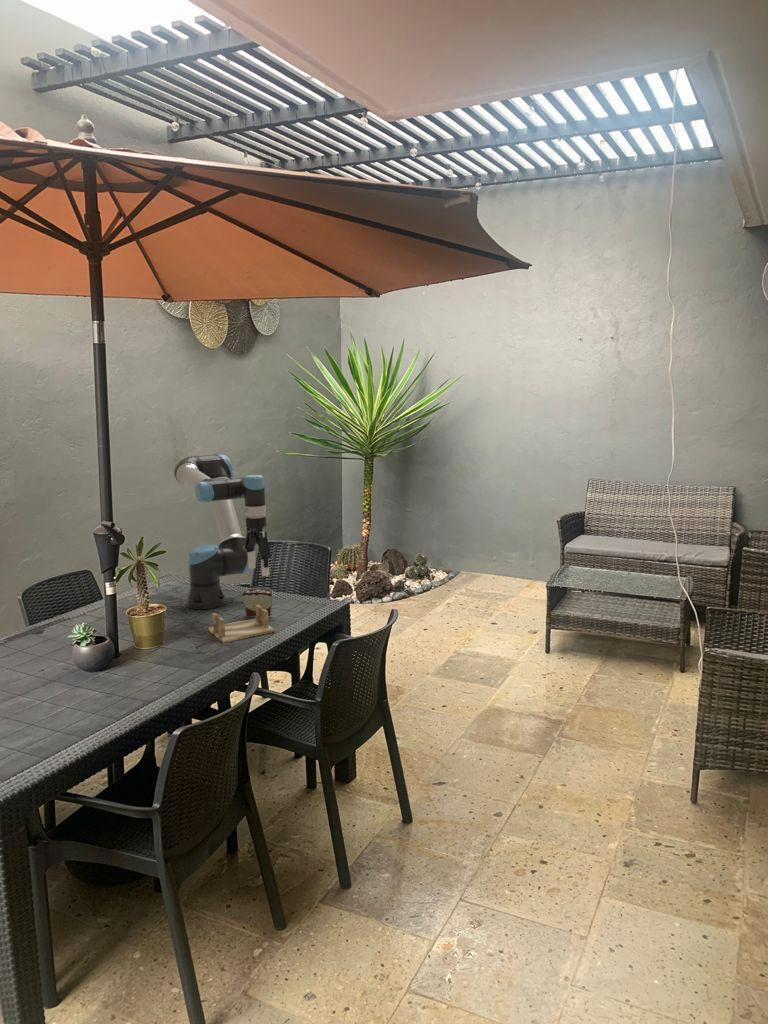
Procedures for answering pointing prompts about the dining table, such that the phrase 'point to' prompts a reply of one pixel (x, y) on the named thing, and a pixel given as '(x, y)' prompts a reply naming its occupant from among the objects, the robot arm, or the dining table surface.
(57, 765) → the dining table surface
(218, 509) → the robot arm
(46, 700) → the dining table surface
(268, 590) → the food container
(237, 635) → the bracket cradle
